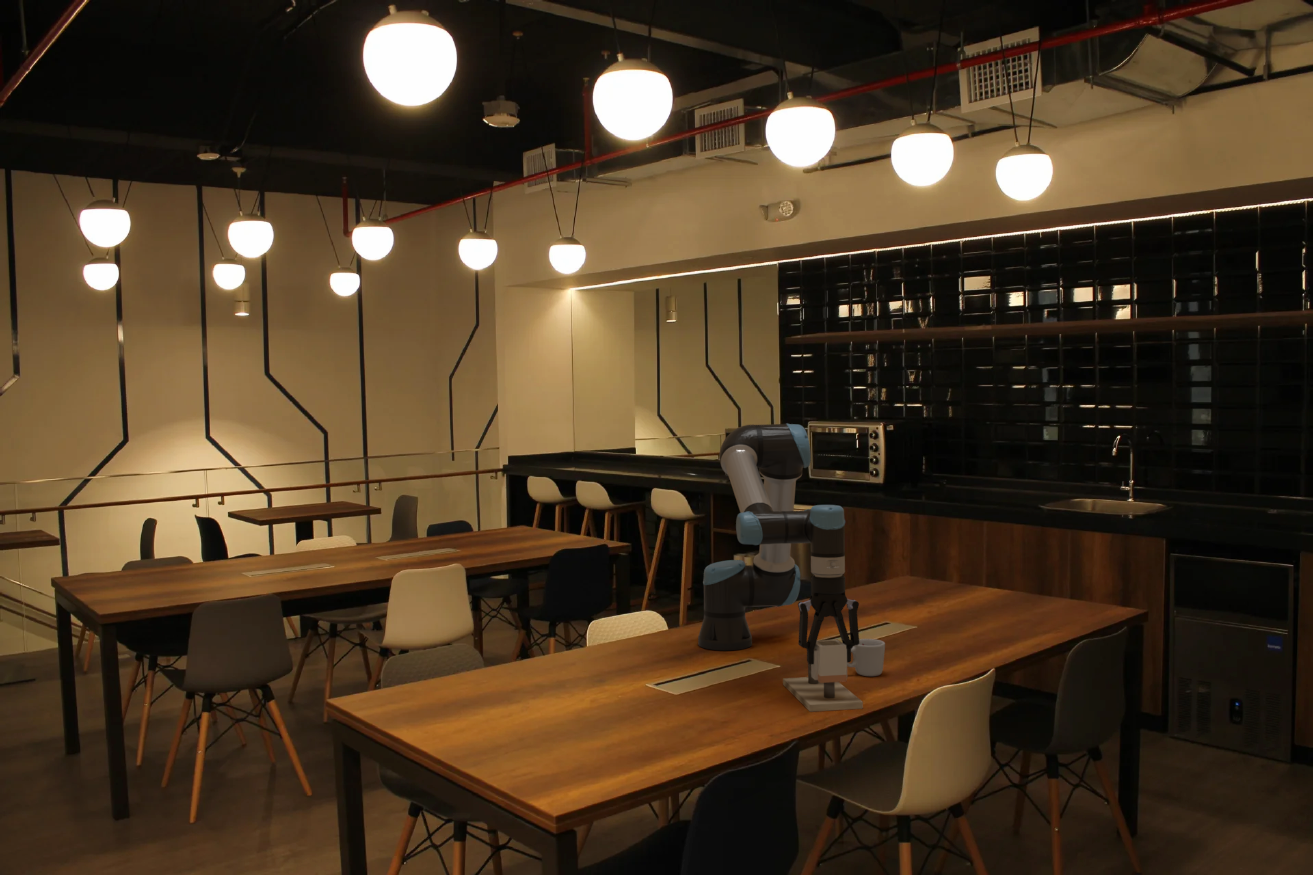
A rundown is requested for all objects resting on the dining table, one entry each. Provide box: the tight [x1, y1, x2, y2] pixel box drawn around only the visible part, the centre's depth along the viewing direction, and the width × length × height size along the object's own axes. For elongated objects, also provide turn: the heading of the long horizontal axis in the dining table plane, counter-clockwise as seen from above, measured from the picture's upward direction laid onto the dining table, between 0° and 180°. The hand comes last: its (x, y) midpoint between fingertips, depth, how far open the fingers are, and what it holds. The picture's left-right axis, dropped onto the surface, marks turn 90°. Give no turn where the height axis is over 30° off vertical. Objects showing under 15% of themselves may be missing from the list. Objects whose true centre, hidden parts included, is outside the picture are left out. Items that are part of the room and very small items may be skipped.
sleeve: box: [815, 639, 848, 683], centre depth 224 cm, size 6×6×8 cm
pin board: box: [782, 662, 864, 712], centre depth 230 cm, size 22×12×8 cm, turn 8°
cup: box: [847, 638, 886, 677], centre depth 248 cm, size 11×8×8 cm
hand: (829, 677), depth 224 cm, fingers closed on sleeve, 6 cm apart
